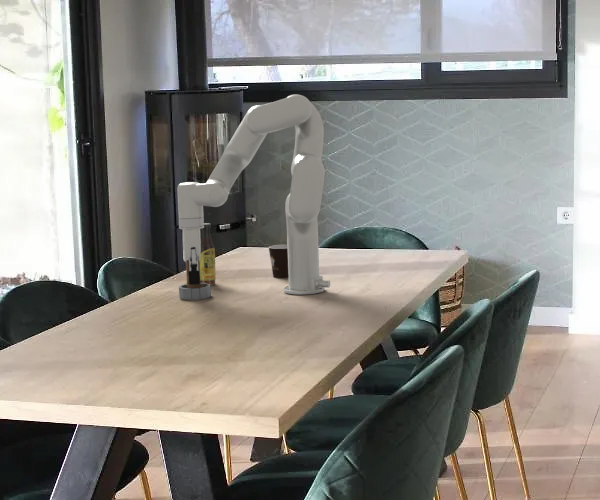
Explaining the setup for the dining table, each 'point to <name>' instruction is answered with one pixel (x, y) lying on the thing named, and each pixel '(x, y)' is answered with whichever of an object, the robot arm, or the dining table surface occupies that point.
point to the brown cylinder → (188, 275)
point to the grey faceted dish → (195, 292)
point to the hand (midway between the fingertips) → (193, 282)
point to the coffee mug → (279, 261)
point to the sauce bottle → (207, 256)
